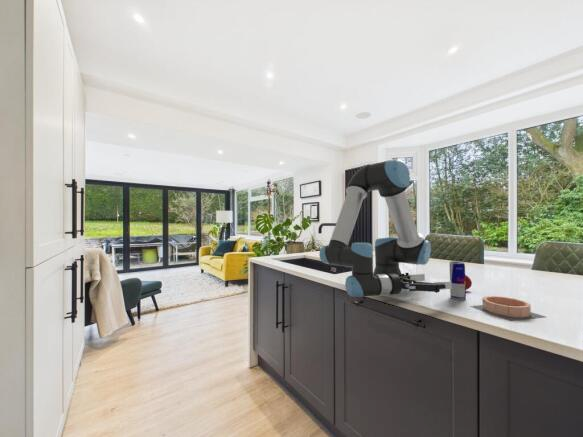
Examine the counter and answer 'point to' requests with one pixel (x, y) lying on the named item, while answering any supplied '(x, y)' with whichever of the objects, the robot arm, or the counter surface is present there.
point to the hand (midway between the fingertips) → (436, 280)
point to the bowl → (507, 306)
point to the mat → (532, 316)
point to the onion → (467, 282)
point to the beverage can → (457, 280)
